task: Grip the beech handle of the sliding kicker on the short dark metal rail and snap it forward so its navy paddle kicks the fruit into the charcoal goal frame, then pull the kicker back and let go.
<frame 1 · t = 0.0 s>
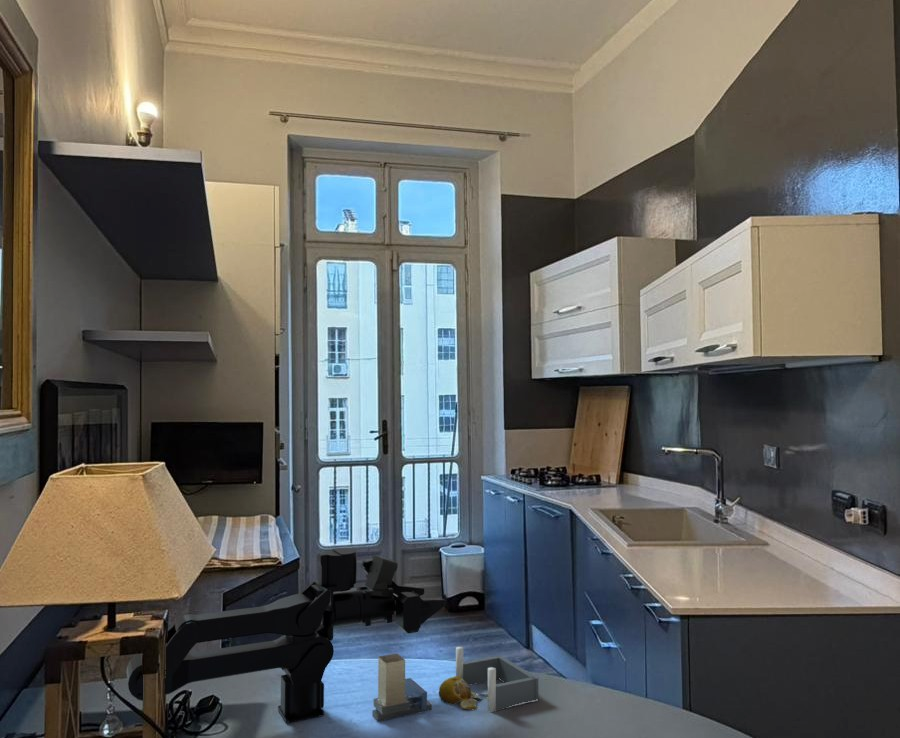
hand: (434, 596, 132), 17 cm above the table, tool horizontal, fingers open, 9 cm apart
kicker: (398, 681, 120), point 5 cm above the table, slide at 0.0 cm
rail: (402, 713, 120), on the table
goal: (498, 692, 128), on the table
fruit: (463, 703, 125), on the table
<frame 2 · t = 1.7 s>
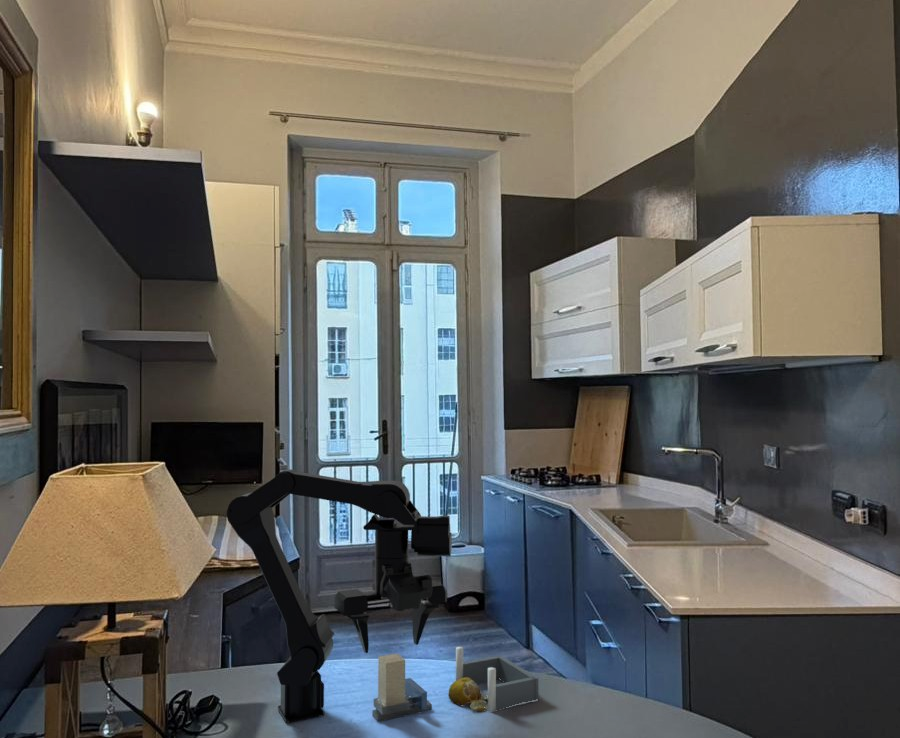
hand: (391, 648, 120), 11 cm above the table, tool pointing down, fingers open, 9 cm apart
fruit: (473, 705, 124), on the table
everything else where it was.
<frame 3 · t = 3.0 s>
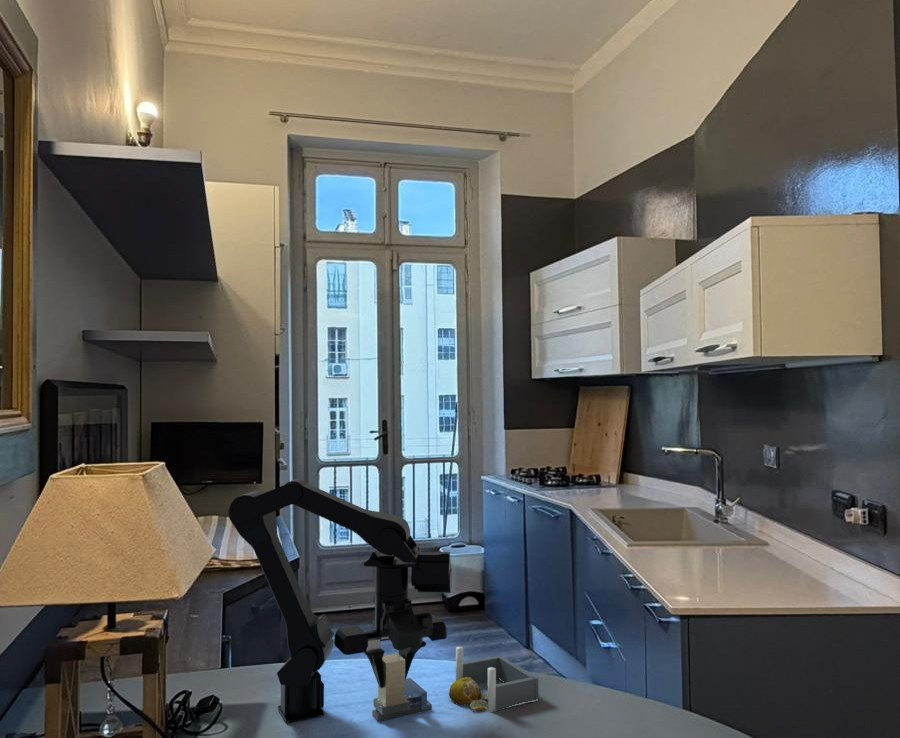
hand: (391, 685, 119), 5 cm above the table, tool pointing down, fingers closed on kicker, 3 cm apart
kicker: (398, 681, 120), point 5 cm above the table, slide at 0.0 cm, touching gripper
fruit: (474, 704, 124), on the table, touching goal
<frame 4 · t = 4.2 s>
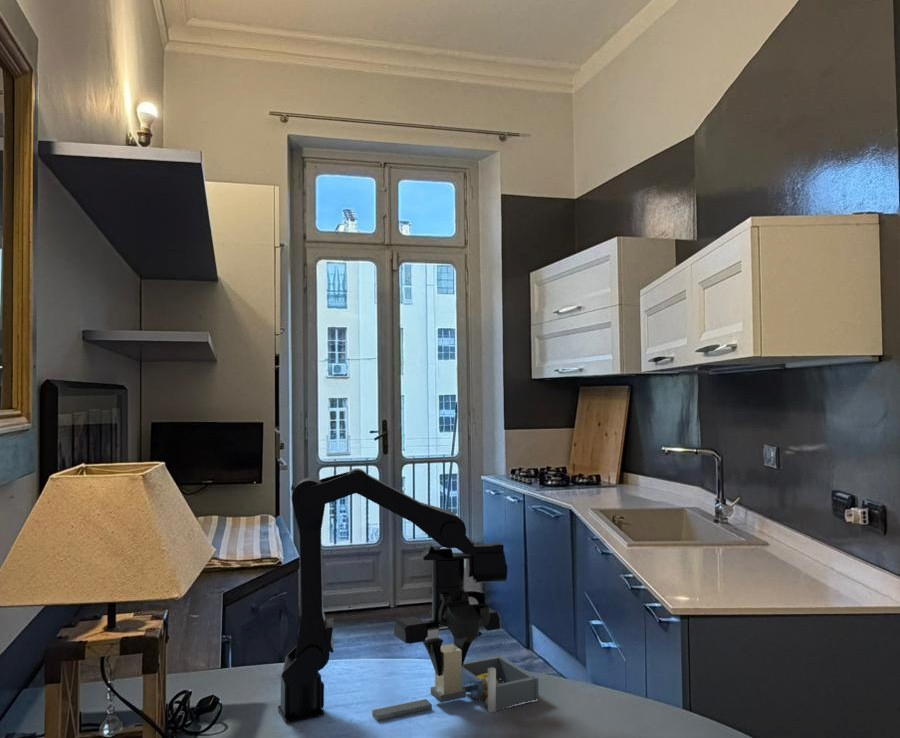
hand: (448, 673, 124), 5 cm above the table, tool pointing down, fingers closed on kicker, 3 cm apart
kicker: (454, 670, 125), point 5 cm above the table, slide at 10.8 cm, touching gripper
fruit: (492, 700, 126), on the table
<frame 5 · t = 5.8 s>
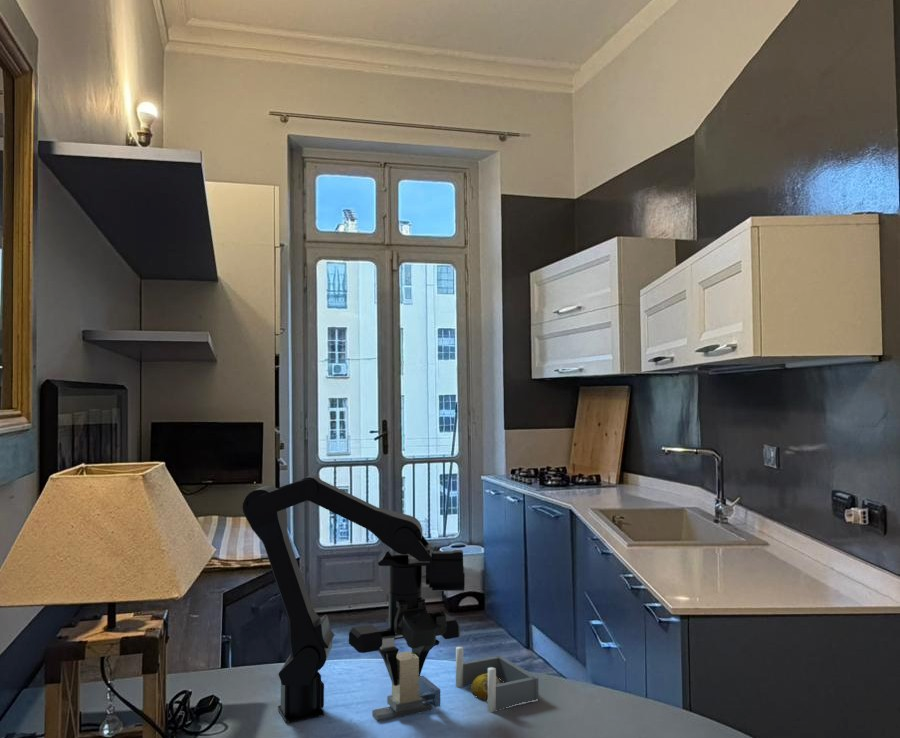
hand: (405, 683, 120), 5 cm above the table, tool pointing down, fingers closed on kicker, 3 cm apart
kicker: (411, 679, 121), point 5 cm above the table, slide at 2.5 cm, touching gripper
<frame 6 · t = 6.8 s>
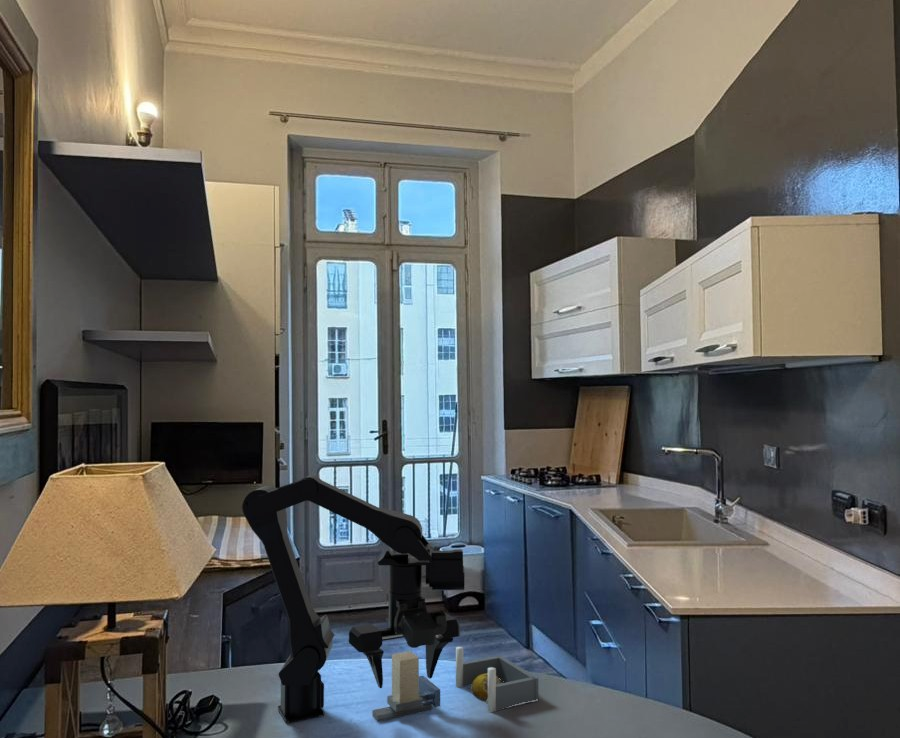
hand: (405, 682, 120), 5 cm above the table, tool pointing down, fingers open, 9 cm apart
kicker: (411, 679, 121), point 5 cm above the table, slide at 2.5 cm
everything else where it was.
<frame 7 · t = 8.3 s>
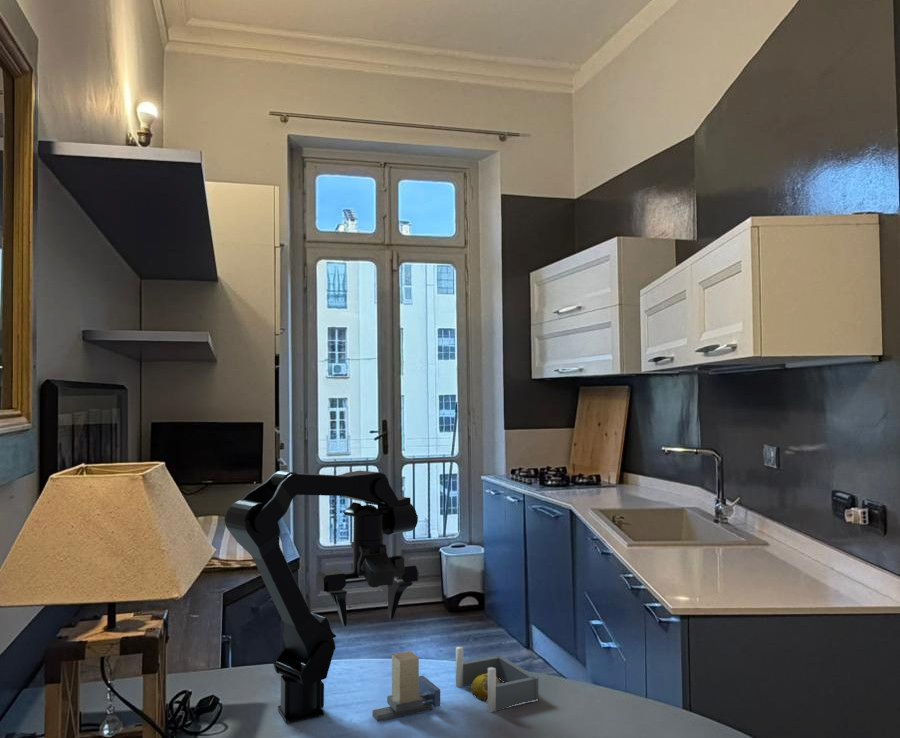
hand: (368, 622, 131), 12 cm above the table, tool pointing down, fingers open, 9 cm apart
nothing on the table moved.
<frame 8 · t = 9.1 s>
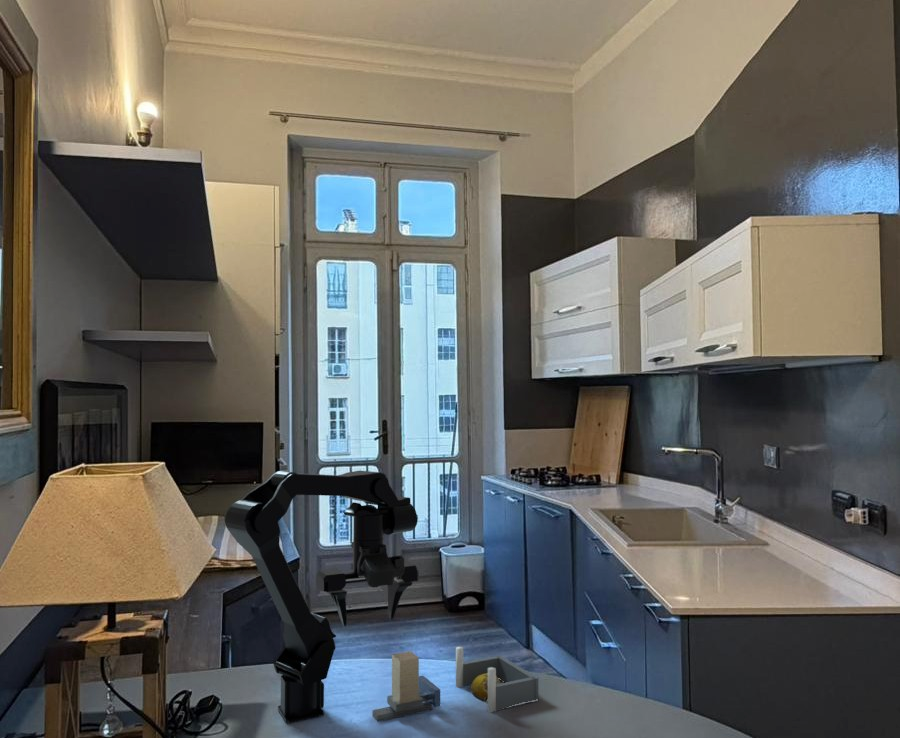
hand: (368, 622, 131), 12 cm above the table, tool pointing down, fingers open, 9 cm apart
nothing on the table moved.
at the end: fruit inside the target area (2.5 cm from its centre), on the table; fruit 2.3 cm from the goal (horizontally); the gripper is holding nothing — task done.
